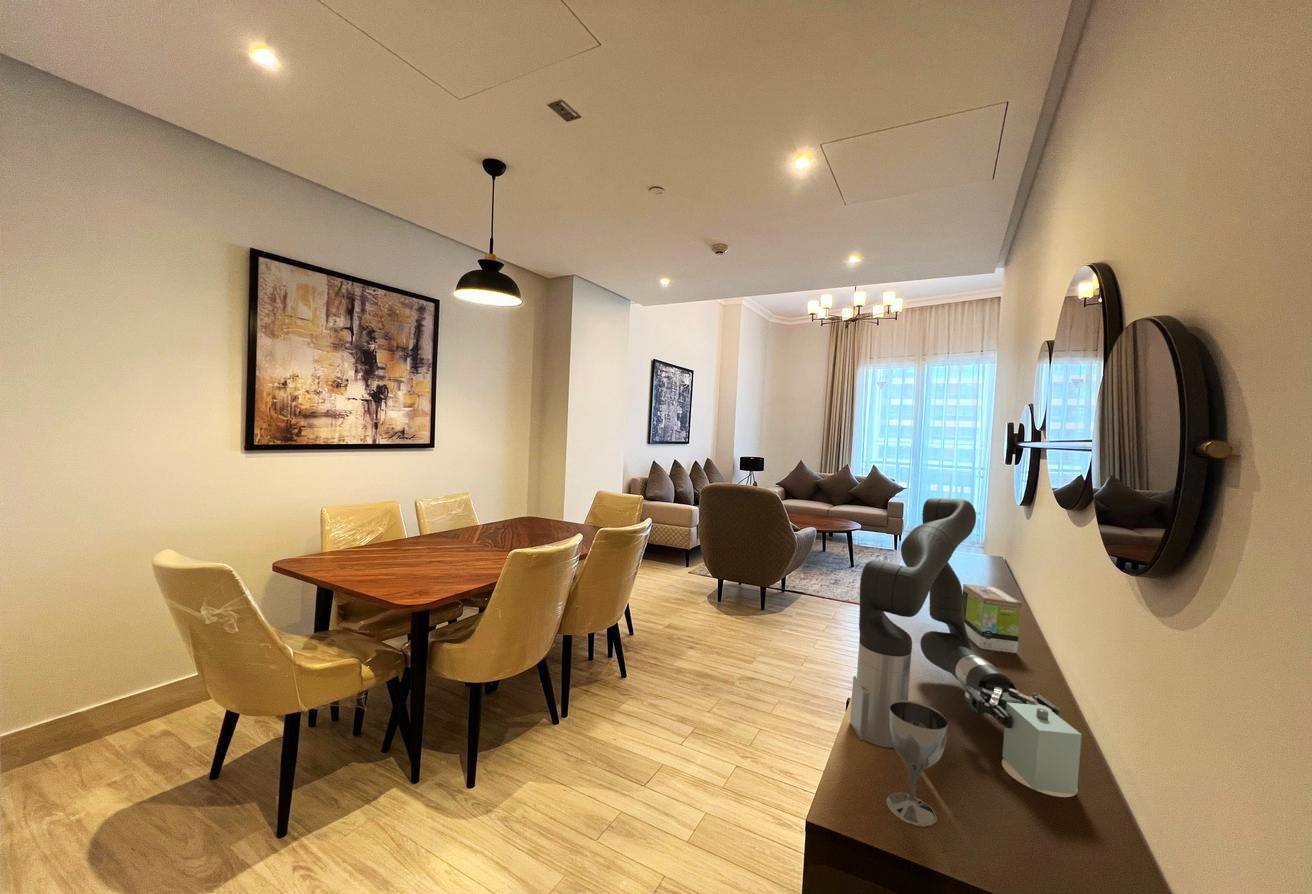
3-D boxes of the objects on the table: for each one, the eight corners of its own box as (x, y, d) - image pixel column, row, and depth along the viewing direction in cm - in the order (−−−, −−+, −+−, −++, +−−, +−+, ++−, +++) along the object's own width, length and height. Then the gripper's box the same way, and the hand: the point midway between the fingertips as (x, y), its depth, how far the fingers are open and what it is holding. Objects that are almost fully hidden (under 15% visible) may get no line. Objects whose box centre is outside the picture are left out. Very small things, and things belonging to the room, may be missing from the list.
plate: (1025, 797, 82) (1026, 792, 82) (988, 756, 92) (989, 752, 92) (1093, 805, 81) (1094, 800, 81) (1049, 763, 91) (1049, 758, 91)
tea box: (1019, 654, 140) (1023, 602, 139) (979, 649, 142) (983, 597, 141) (994, 633, 154) (997, 586, 154) (958, 629, 156) (961, 582, 156)
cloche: (1034, 789, 82) (1039, 723, 82) (1002, 756, 91) (1007, 695, 91) (1076, 794, 82) (1082, 727, 82) (1040, 760, 90) (1045, 699, 90)
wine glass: (922, 791, 82) (928, 701, 81) (952, 830, 74) (960, 730, 73) (874, 790, 81) (880, 699, 81) (899, 828, 73) (906, 728, 73)
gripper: (949, 660, 105) (994, 700, 89) (1021, 666, 104) (1080, 709, 87) (946, 695, 105) (991, 742, 89) (1018, 702, 104) (1077, 751, 88)
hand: (1035, 726), depth 88 cm, fingers open, 8 cm apart
